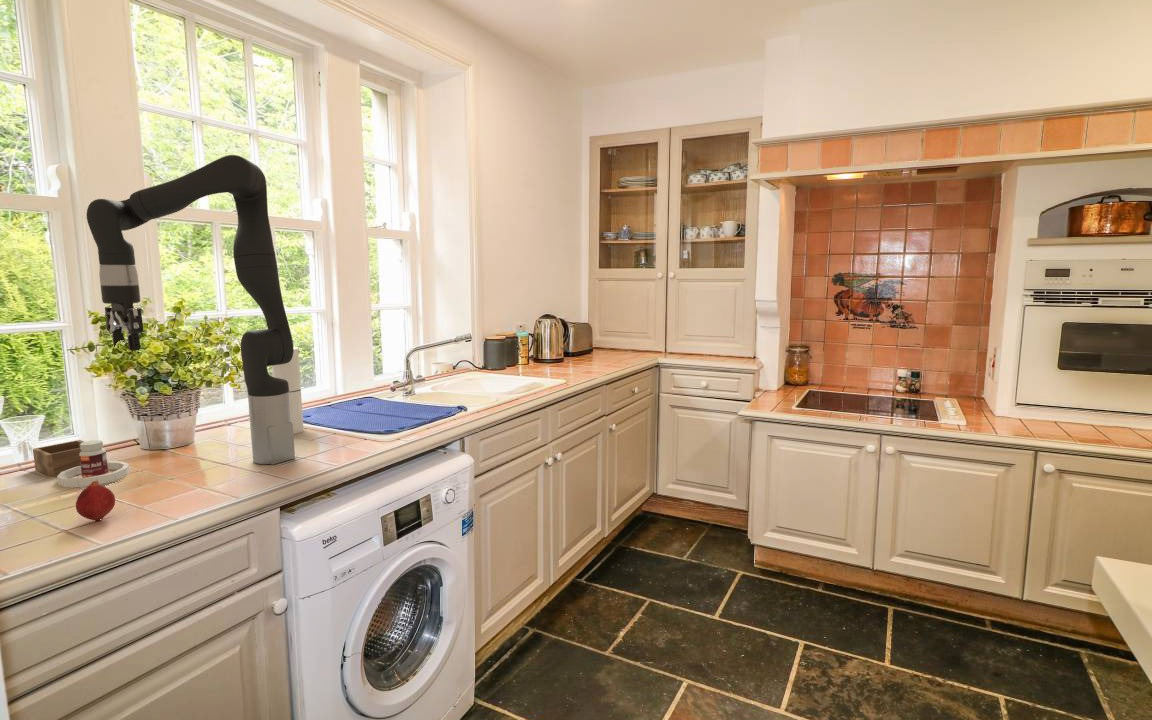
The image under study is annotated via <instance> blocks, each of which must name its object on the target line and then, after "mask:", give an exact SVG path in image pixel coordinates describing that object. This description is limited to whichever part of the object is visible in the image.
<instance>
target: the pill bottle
mask: <svg viewBox="0 0 1152 720" xmlns="http://www.w3.org/2000/svg"><path fill="white" fill-rule="evenodd" d="M80 449H81V450H82V451H81V452H80V454H79V457H80V465H81V472H82V474H81V478H85V477H93V476H99V475H103V474H107V473H110V472H109V470H108V464H107V461H108V457H107V450H106V449H105V448H104V441H103V440H102V439H94V440H87V441H84V442H83V443H81V444H80Z"/></svg>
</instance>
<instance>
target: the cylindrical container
mask: <svg viewBox="0 0 1152 720" xmlns="http://www.w3.org/2000/svg"><path fill="white" fill-rule="evenodd" d="M293 347H294V352H293V357H292V359H291V361H290V362H288V363H286V364H280V365H273V366H271V368H272V377H275V378H280V379H284V380H286V381H287V382H288V385H289V400H290V415H291V422H292V423H293V435H295V434H299V433H301V432H304V419H303V417H304V416H303V415H304V414H303V403H302V400H303V399H302V387H301V386H302V385H301V371H300V370H301V369H300V357H299V353H300V352H299V347H295V346H293Z"/></svg>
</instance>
